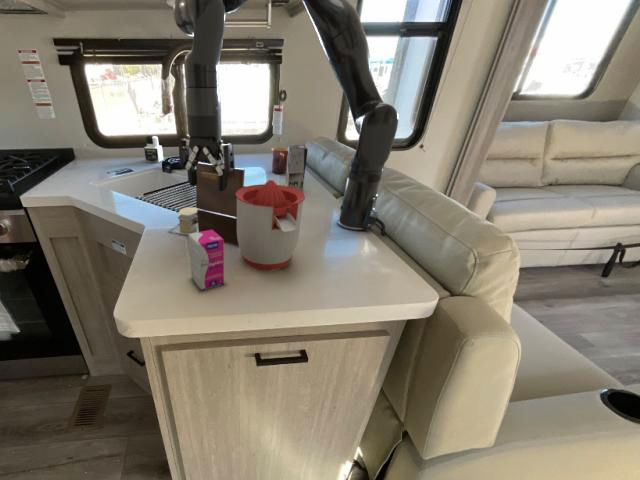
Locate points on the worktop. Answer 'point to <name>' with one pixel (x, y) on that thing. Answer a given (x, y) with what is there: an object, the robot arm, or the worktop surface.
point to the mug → (279, 159)
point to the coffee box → (296, 166)
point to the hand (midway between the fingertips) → (207, 187)
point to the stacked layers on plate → (187, 221)
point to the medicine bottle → (153, 150)
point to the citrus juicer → (268, 224)
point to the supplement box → (207, 259)
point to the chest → (219, 225)
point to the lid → (211, 196)
